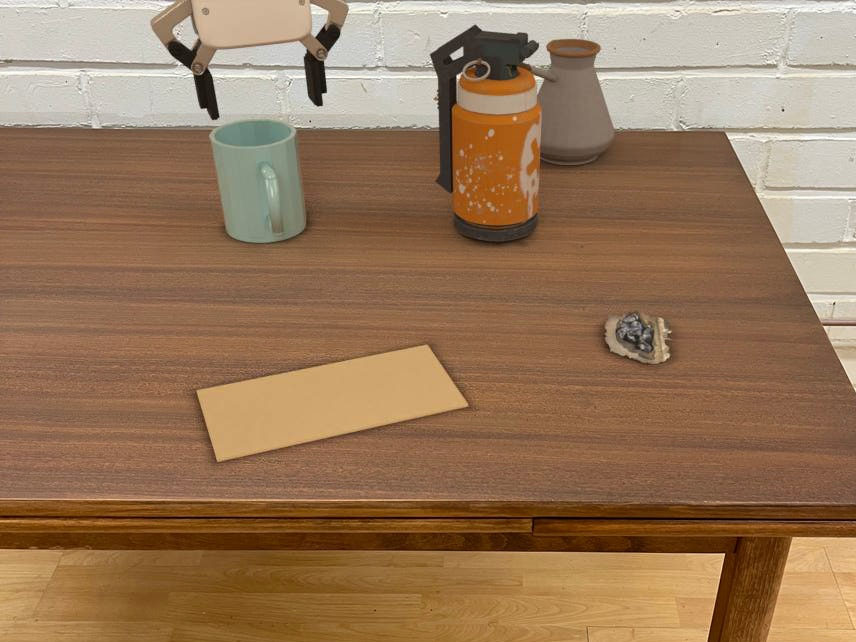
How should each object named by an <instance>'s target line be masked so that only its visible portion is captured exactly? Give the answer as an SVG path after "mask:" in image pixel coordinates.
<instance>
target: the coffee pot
mask: <svg viewBox="0 0 856 642" xmlns="http://www.w3.org/2000/svg"><path fill="white" fill-rule="evenodd" d="M545 49H546V50H547V52H548V53H549V58H550V66H549V68H548V70H544V69H541V68H538V67H535V66H531V65H530V64H528V63H526V62H524V61H523V62H522V63H521V64H520V65H517V67H520V68H523V69H526V70H528V71H529V72H531V73H532V74H533V76H534V77H535V76H536V77H537V78H540V79H543V81H542V84H541V86H540V88H539V90H538V91H537V103H538V104H539V105H540V106H541V108H542V122H541V145H540V160H541V161H543V162H547V163H549V164H555V165H558V166H559V165H560V166H577V165H585V164H589V163H590V162H593V161H595V160H596V159H598V156H599V155H602V154H603V153H604V152H605V151H606V150H607V149H608V148H609V147H610V146H611V144H612V142H613V140H614V138H615V134H616V132H615V131H616V130H615V128H614V125H613V121H612V117H611V115H610V111H609V108H608V105H607V102H606V99H605V96H604V93H603V90H602V87H601V83H600V81H599V77H598V74H597V70H596V67H595V62H596V58H597V54H599V53H600V52H601V50H602V47H601V45H600V44H599V43H597V42H596V41H593V40H589V39H582V38H562V39H561V38H560V39H552V40H551V41H549V42H548V43H547V45H546V46H545ZM511 66H512V65H511ZM473 67H474V66H473ZM473 67H471V68H473Z"/></svg>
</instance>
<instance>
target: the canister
mask: <svg viewBox="0 0 856 642" xmlns="http://www.w3.org/2000/svg"><path fill="white" fill-rule="evenodd" d="M539 48H540V42H537V41H536V40H534V39H530V40H529V34H528V33H527V32H521V31H518V32H516V33H511V32H510V33H509V32H501V31H491V30H489V31H488V30H483V29H481V27H479V25H477V24H473V25H471V26H470V27H469V28H467V29H466V30H464V31H463V32H461V33H460V34H458V35H456V36H455V37H453V38H452V39H450V40H449V41H447V42H446V43H444V44H442V45H441V46H439V47H438V48H437V49H435V50H434V51H432V52H431V53H429V57H430V59H431V62H432V65H433V69H434V71H435V74H436V77H437V89H436V97H437V98H436V100H437V102H436V104H437V110H438V139H439V140H438V144H439V145H438V146H439V148H438V149H439V174H438V176H437V178H435V180H434V182H435V183H436V184H438V185H439V187H441V188H443V189H444V190H445V191H446V192H447V193H449V194H450V195H451V194H452V205H453V212H452V213H453V215H452V216H453V226H454V228H455V229H456V231H457V232H459V233H460V234H462V235H463V236H466V237H469V238H472V239H475V240H479V241H484V242H492V243H501V242H507V241H508V242H509V241H512V240H513V241H514V240H516V239H521V238H523V237H526V236H528V235H529V234H531V233H533V232H534V231H536V229H537V226H538V209H539V187H540V167H541V159H540V145H541V122H542V108H541V106H540V105H539V104H538V103H537V94H538V82H537V81H536V78H535V75H533V74H532V73H531V72H529V71H528V70H526V69H523V68H520V67H517V65H520V64H521V63H522V62H523V63H524V61H526V59H529V58H531V57H532V56H533V55H534V54H535V53H536V52H537V51H538V50H539ZM460 49H462V56H459V57H458V58H455V59H453V58H452V56H451V55H453V54H455V52H457V51H459V50H460ZM511 65H512V66H511ZM471 67H473V68H471ZM458 75H460V76H459V79H458V81H457V77H458Z"/></svg>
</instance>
